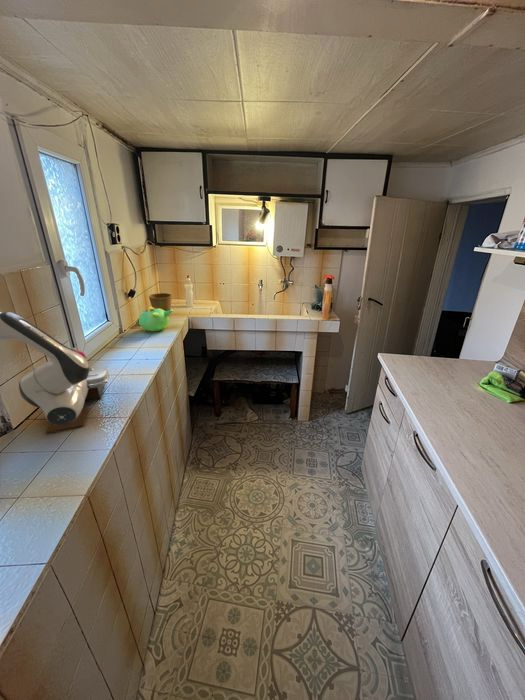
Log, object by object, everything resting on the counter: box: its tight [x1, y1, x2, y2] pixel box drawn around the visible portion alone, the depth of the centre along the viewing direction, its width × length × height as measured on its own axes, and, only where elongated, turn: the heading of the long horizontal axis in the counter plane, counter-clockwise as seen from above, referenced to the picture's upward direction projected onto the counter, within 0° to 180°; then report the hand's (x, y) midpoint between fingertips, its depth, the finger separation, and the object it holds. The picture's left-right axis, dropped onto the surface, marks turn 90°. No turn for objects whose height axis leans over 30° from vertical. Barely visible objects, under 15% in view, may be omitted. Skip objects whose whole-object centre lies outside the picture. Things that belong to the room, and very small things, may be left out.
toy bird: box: [138, 305, 174, 332], centre depth 173 cm, size 18×17×15 cm
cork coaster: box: [46, 407, 89, 435], centre depth 95 cm, size 10×10×1 cm
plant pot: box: [148, 292, 173, 318], centre depth 196 cm, size 15×15×16 cm
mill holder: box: [84, 385, 105, 403], centre depth 109 cm, size 11×11×6 cm
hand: (80, 371), depth 106 cm, fingers open, 6 cm apart
